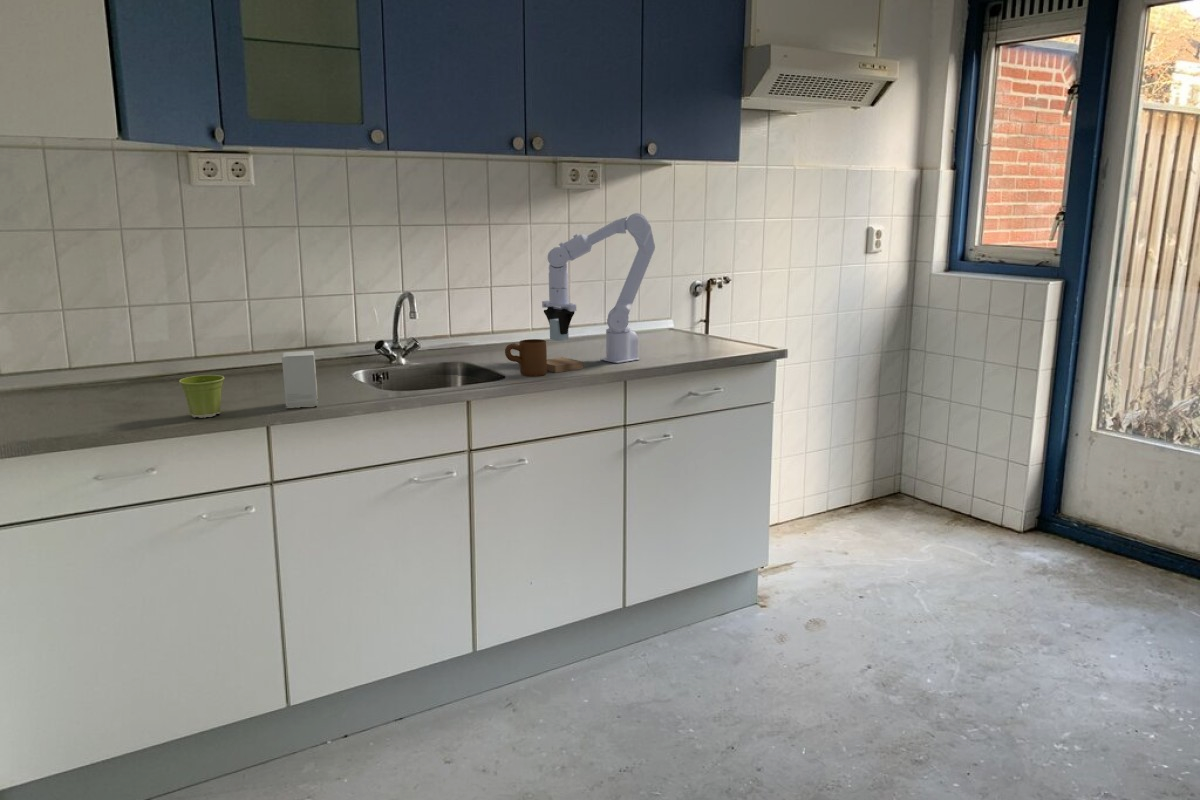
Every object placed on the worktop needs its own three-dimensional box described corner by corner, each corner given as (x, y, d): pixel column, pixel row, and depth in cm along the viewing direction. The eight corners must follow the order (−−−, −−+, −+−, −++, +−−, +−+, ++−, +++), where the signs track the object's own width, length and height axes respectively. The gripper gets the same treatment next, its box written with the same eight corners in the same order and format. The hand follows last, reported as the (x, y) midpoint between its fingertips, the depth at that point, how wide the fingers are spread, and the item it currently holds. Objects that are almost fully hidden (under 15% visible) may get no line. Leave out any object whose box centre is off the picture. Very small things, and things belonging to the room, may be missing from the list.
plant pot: (232, 416, 203) (228, 379, 202) (188, 422, 198) (183, 384, 196) (222, 409, 211) (218, 373, 209) (179, 415, 206) (175, 378, 204)
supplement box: (318, 407, 212) (314, 354, 209) (285, 409, 210) (280, 356, 207) (318, 401, 219) (314, 350, 216) (286, 403, 217) (282, 351, 214)
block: (560, 337, 273) (560, 318, 271) (568, 339, 270) (568, 319, 268) (550, 339, 270) (549, 319, 269) (558, 340, 267) (557, 320, 266)
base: (562, 363, 266) (562, 357, 266) (583, 368, 258) (583, 361, 258) (534, 368, 260) (534, 361, 259) (555, 372, 252) (555, 365, 252)
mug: (510, 379, 244) (509, 345, 242) (501, 374, 250) (499, 341, 248) (551, 375, 249) (550, 341, 247) (540, 370, 255) (539, 338, 253)
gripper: (533, 287, 270) (534, 332, 272) (562, 290, 259) (563, 337, 262) (552, 285, 274) (553, 329, 277) (581, 288, 263) (582, 334, 266)
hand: (559, 333), depth 269 cm, fingers closed on block, 4 cm apart
